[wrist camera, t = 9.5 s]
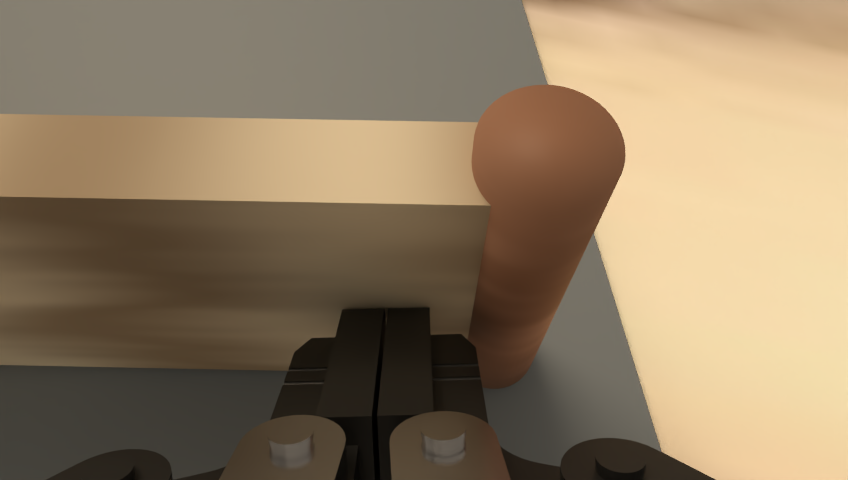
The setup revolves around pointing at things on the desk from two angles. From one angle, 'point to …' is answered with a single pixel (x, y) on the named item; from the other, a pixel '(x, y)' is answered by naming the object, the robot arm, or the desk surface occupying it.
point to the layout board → (288, 99)
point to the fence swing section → (294, 231)
